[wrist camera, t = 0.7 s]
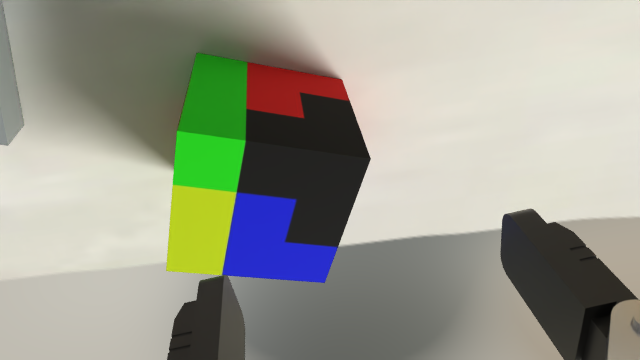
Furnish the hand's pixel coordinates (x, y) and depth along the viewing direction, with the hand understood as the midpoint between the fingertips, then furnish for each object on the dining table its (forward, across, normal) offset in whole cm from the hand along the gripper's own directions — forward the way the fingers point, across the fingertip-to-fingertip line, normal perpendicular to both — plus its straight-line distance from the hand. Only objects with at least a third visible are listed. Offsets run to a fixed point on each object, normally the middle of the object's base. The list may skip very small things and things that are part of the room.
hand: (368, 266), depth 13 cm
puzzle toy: (+22, +4, +5) cm, 23 cm away
